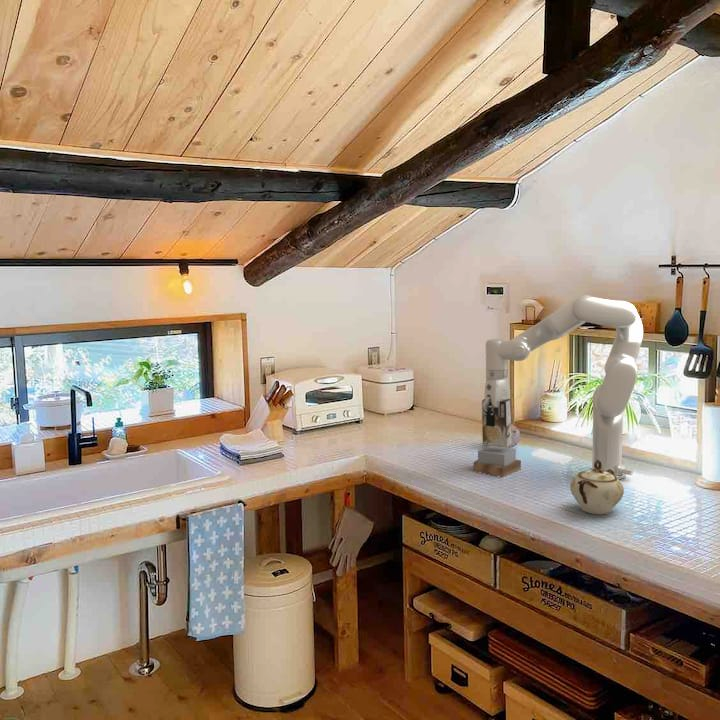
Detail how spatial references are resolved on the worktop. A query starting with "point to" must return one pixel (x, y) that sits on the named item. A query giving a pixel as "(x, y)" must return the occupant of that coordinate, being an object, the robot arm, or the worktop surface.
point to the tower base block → (497, 468)
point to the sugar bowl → (597, 490)
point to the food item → (513, 436)
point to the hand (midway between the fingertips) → (497, 423)
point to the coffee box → (498, 425)
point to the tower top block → (497, 455)
